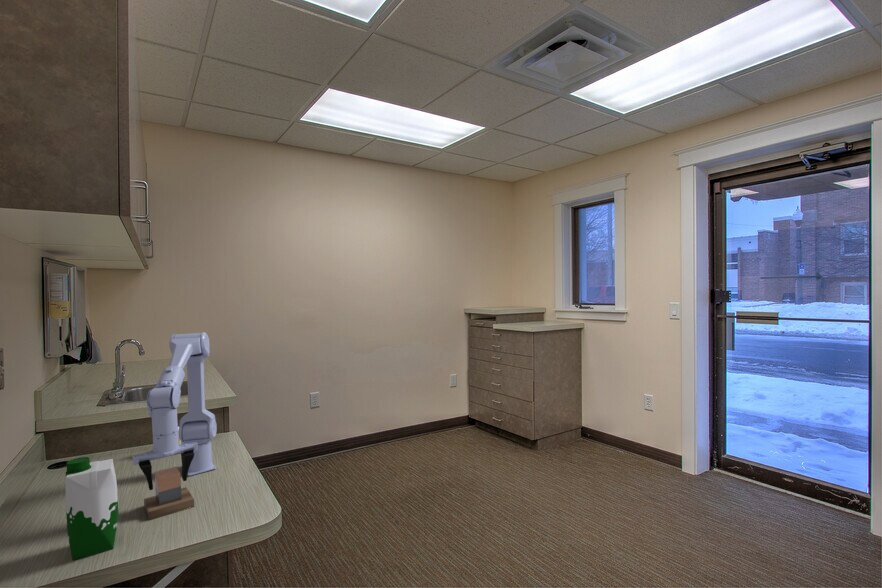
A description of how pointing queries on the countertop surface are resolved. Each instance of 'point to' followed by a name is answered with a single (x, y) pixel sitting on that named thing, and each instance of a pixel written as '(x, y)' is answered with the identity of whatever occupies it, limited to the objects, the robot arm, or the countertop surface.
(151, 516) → the walnut stand
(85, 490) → the milk carton
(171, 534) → the countertop surface
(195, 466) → the robot arm
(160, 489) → the block
